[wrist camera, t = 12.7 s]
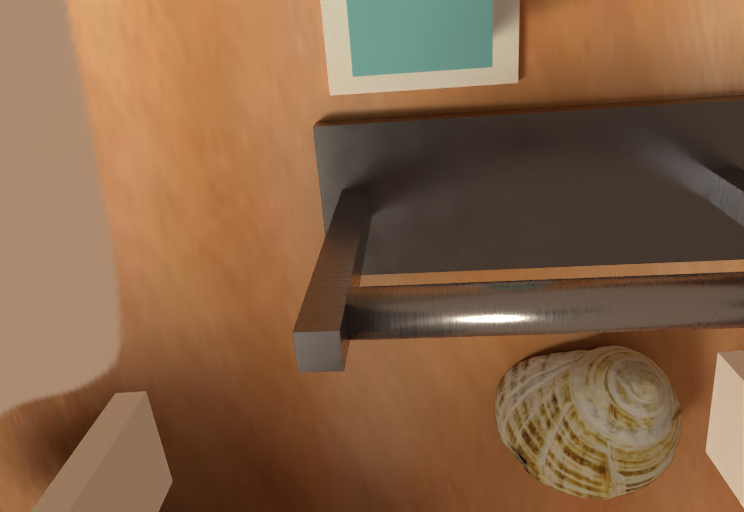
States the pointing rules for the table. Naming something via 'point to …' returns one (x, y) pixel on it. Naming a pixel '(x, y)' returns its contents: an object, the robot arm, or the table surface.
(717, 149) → the stand
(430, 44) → the c link
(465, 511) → the table surface
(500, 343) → the table surface
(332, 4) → the mat
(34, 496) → the table surface
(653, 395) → the seashell
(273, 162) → the table surface
